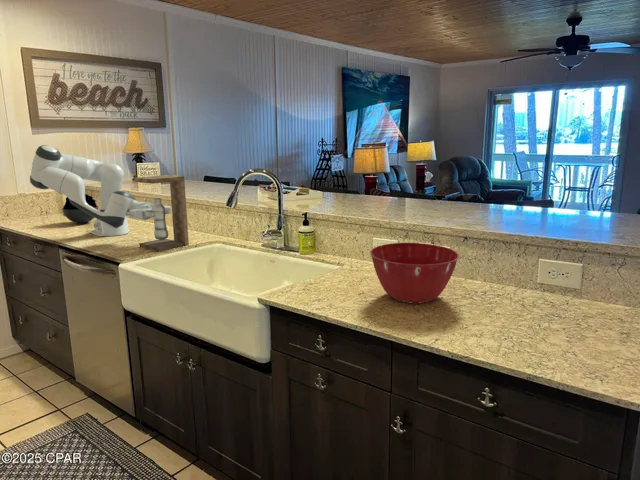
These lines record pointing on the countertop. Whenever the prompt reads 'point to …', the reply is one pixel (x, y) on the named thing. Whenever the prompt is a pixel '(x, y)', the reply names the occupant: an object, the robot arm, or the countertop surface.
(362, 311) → the countertop surface
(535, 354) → the countertop surface
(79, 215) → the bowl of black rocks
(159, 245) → the walnut shelf
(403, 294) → the mixing bowl
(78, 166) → the robot arm
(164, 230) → the plastic bottle
